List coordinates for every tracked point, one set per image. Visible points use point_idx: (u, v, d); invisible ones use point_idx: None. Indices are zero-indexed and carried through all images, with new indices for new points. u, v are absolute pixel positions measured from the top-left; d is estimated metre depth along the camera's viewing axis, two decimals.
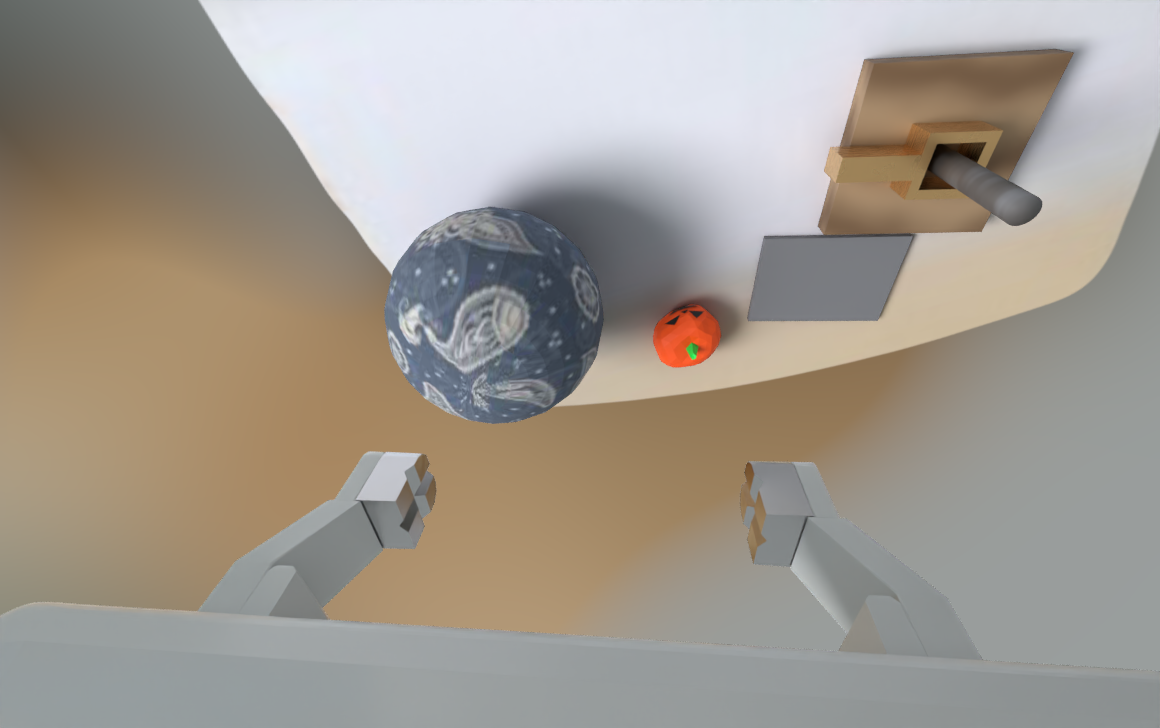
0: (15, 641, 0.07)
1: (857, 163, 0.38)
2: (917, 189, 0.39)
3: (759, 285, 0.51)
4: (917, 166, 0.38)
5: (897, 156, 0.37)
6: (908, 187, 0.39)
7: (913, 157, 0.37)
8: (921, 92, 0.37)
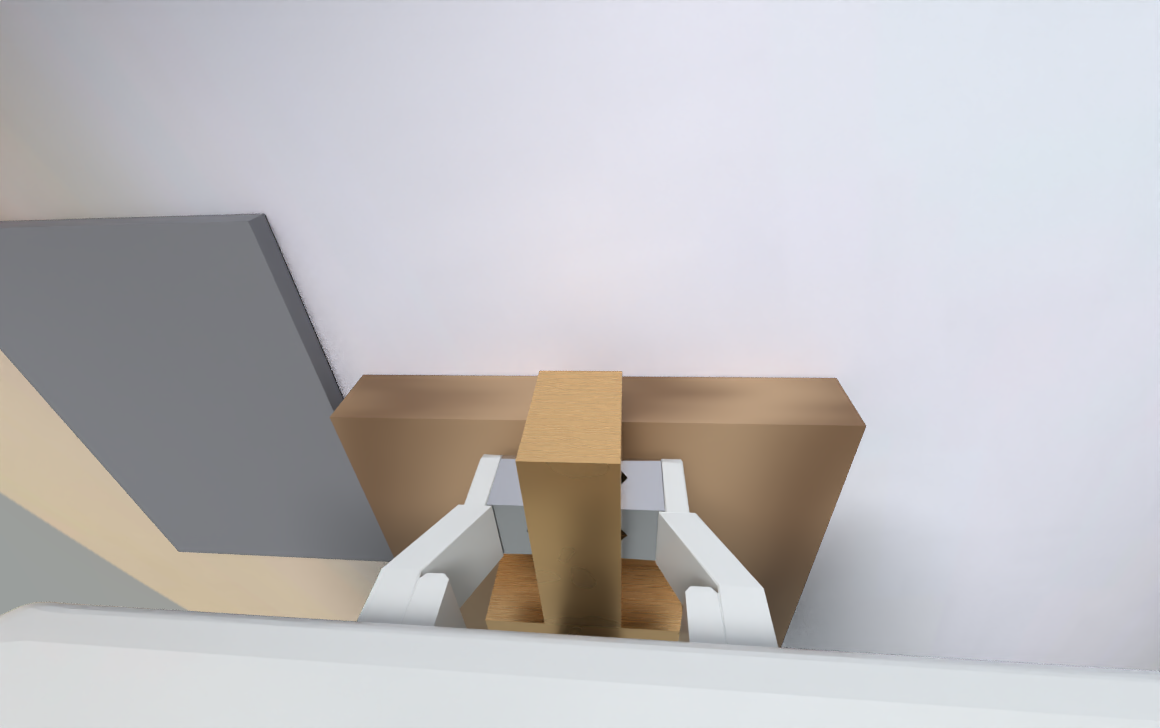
0: (15, 641, 0.07)
1: (596, 507, 0.10)
2: None
3: (63, 242, 0.12)
4: (587, 626, 0.12)
5: (618, 588, 0.11)
6: (522, 615, 0.13)
7: (615, 615, 0.12)
8: (749, 530, 0.14)
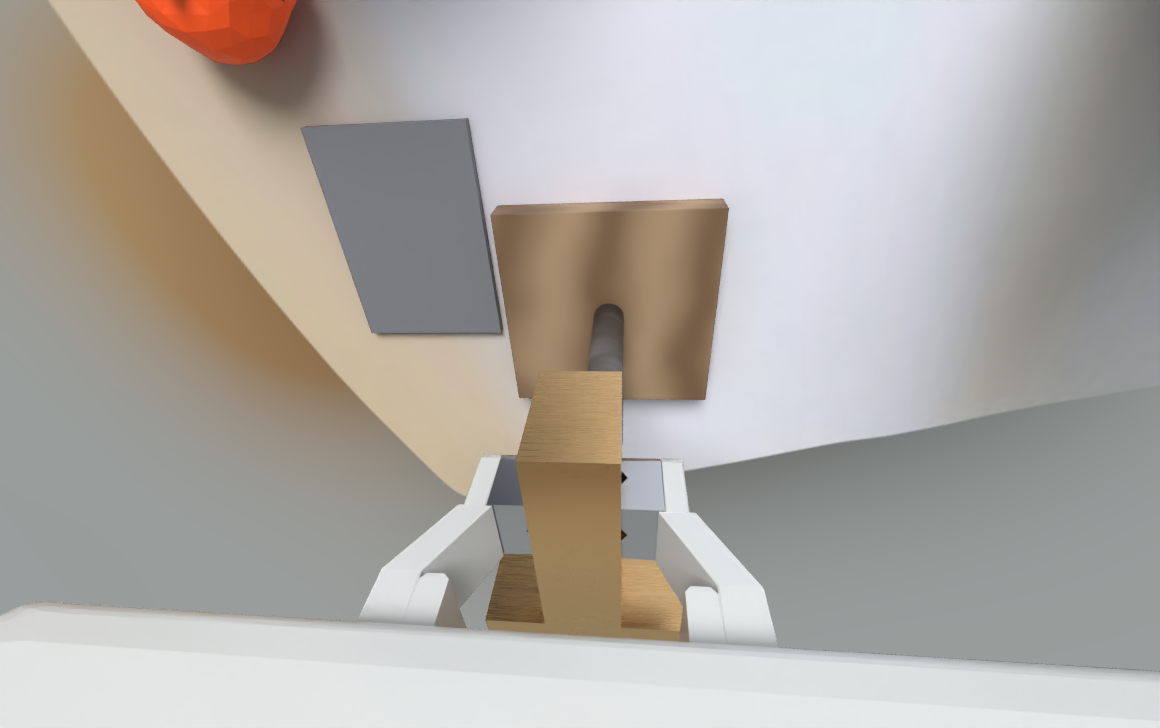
0: (15, 641, 0.07)
1: (597, 507, 0.10)
2: None
3: (377, 131, 0.27)
4: (587, 626, 0.12)
5: (618, 587, 0.11)
6: (522, 615, 0.13)
7: (616, 615, 0.12)
8: (685, 277, 0.29)
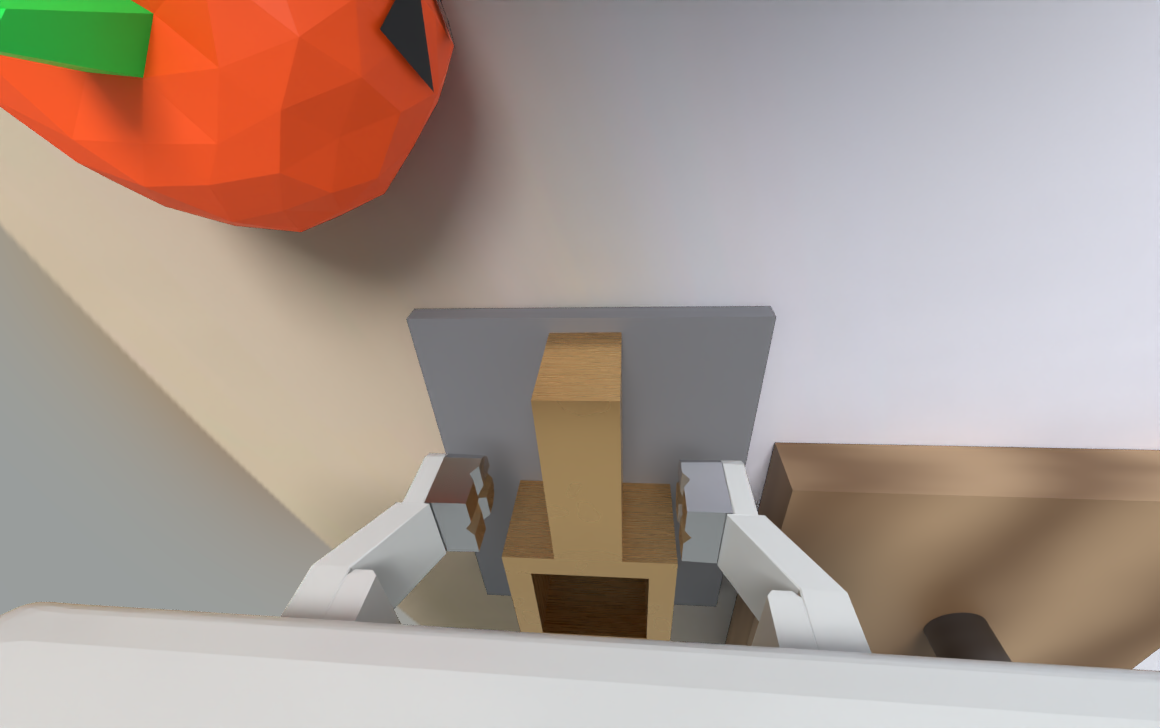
0: (15, 641, 0.07)
1: (600, 443, 0.11)
2: (532, 571, 0.14)
3: (572, 331, 0.13)
4: (592, 560, 0.14)
5: (619, 521, 0.13)
6: (534, 553, 0.14)
7: (617, 549, 0.13)
8: (1152, 591, 0.15)
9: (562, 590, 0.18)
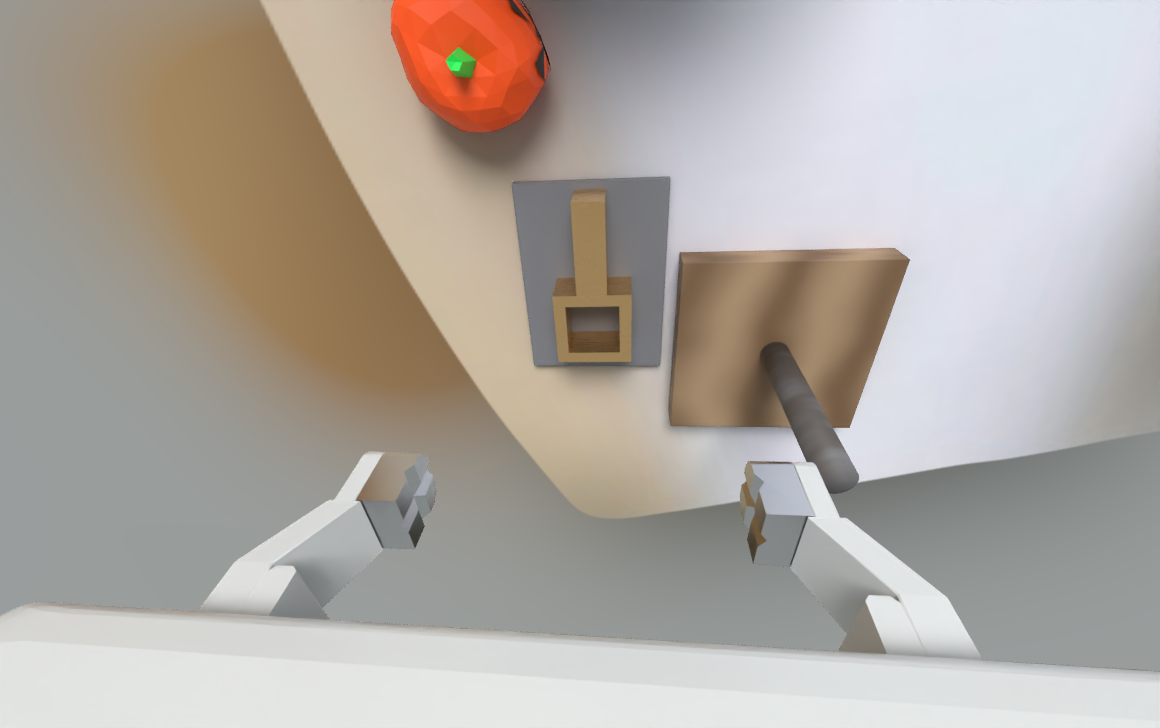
0: (15, 641, 0.07)
1: (597, 223, 0.28)
2: (565, 305, 0.31)
3: (584, 188, 0.30)
4: (593, 295, 0.31)
5: (605, 268, 0.30)
6: (567, 295, 0.31)
7: (604, 287, 0.30)
8: (855, 319, 0.32)
9: (577, 341, 0.34)
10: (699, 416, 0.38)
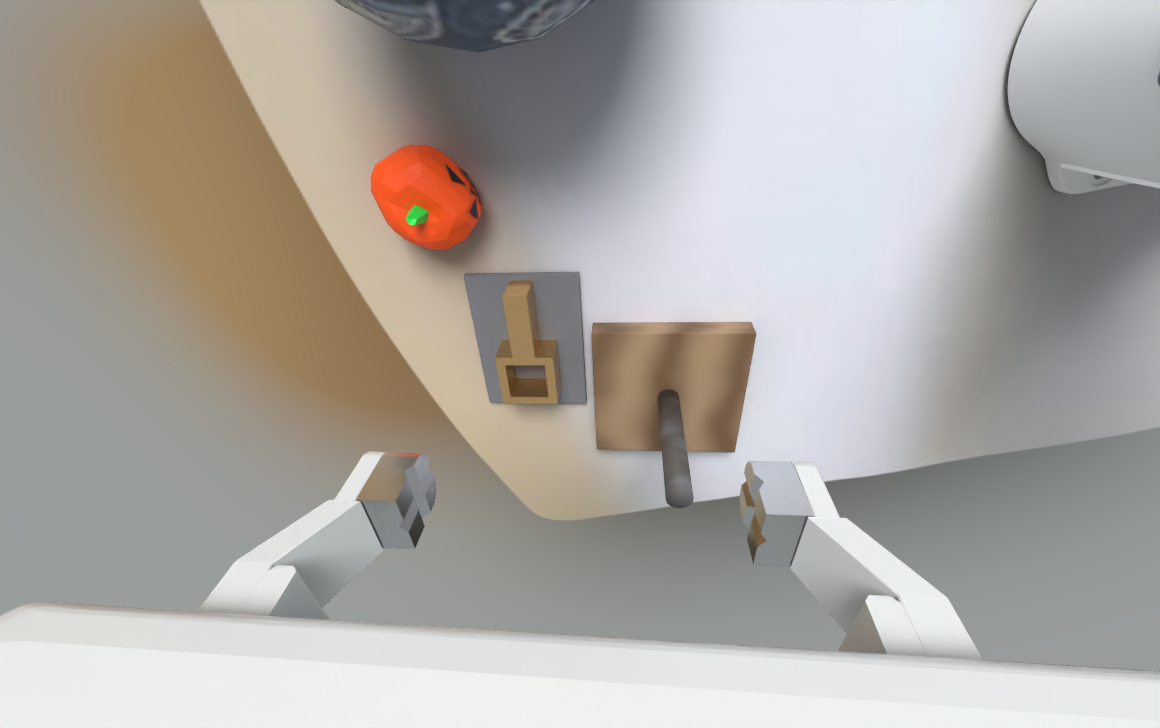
0: (15, 641, 0.07)
1: (522, 310, 0.39)
2: (505, 364, 0.42)
3: (517, 280, 0.40)
4: (524, 357, 0.41)
5: (531, 339, 0.40)
6: (506, 357, 0.42)
7: (532, 352, 0.41)
8: (724, 374, 0.42)
9: (519, 386, 0.45)
10: (618, 442, 0.48)
